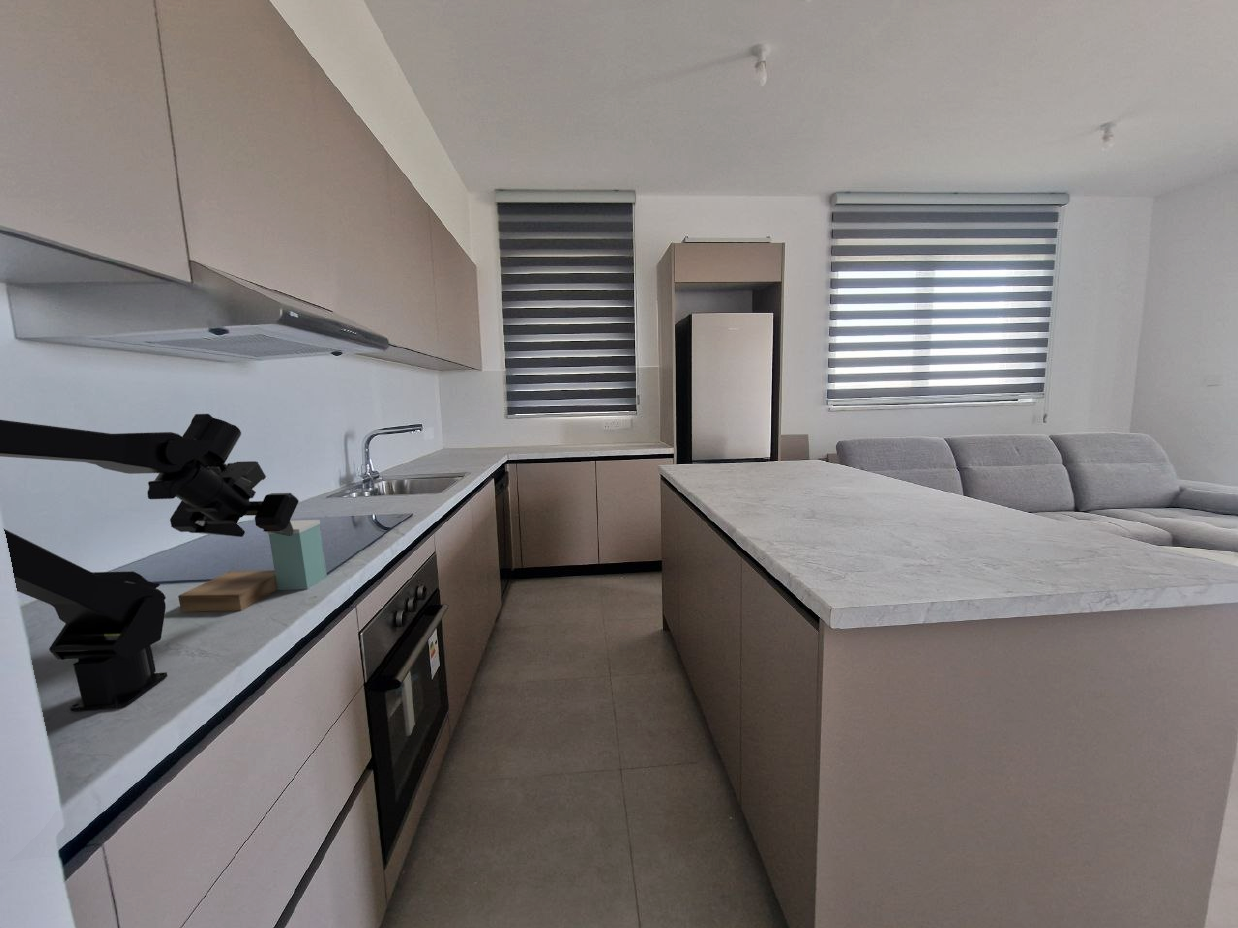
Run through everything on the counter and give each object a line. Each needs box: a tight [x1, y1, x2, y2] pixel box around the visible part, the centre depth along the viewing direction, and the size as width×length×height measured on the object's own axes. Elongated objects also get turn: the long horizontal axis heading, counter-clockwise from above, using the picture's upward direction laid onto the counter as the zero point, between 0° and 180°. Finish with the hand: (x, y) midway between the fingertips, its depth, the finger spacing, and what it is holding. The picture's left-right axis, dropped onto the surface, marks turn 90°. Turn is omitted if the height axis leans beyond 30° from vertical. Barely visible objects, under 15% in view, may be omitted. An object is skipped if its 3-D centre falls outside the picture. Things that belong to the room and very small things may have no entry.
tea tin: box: [266, 519, 328, 591], centre depth 94 cm, size 6×6×12 cm
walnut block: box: [177, 569, 278, 612], centre depth 88 cm, size 11×11×3 cm
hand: (267, 533), depth 86 cm, fingers open, 9 cm apart
